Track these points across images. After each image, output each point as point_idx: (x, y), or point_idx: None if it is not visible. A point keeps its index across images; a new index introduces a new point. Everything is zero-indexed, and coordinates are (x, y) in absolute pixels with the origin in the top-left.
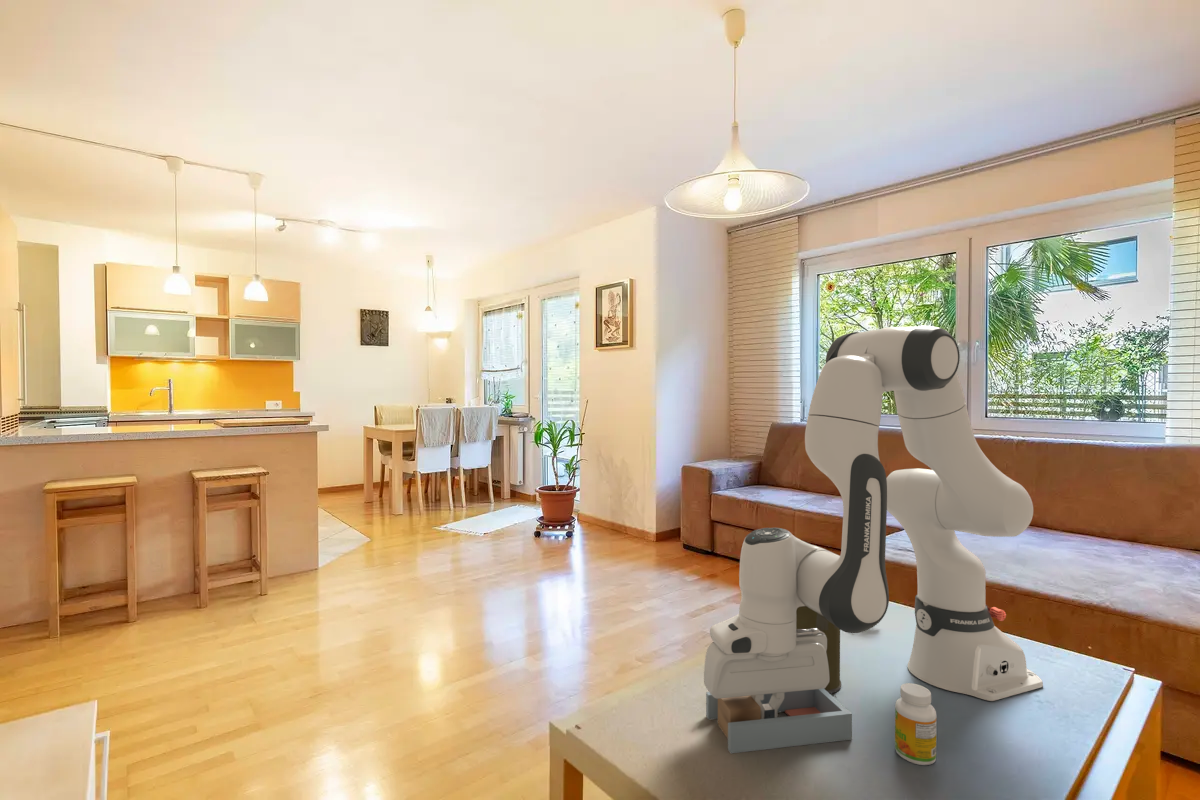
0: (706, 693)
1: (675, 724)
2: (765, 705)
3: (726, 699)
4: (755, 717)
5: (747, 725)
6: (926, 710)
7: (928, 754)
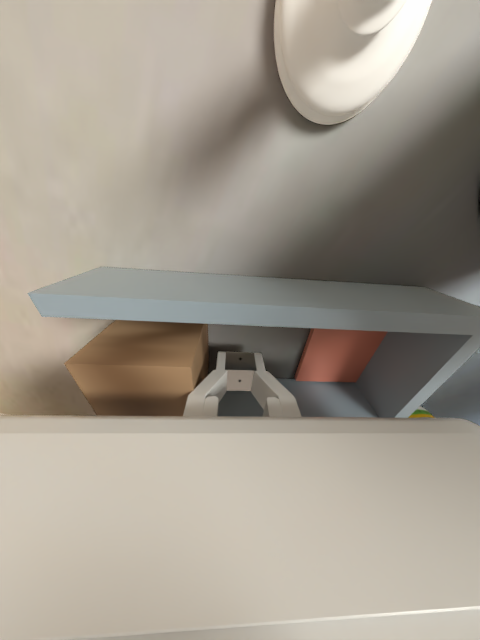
0: (33, 293)
1: (7, 283)
2: (239, 376)
3: (99, 393)
4: None
5: None
6: None
7: None
